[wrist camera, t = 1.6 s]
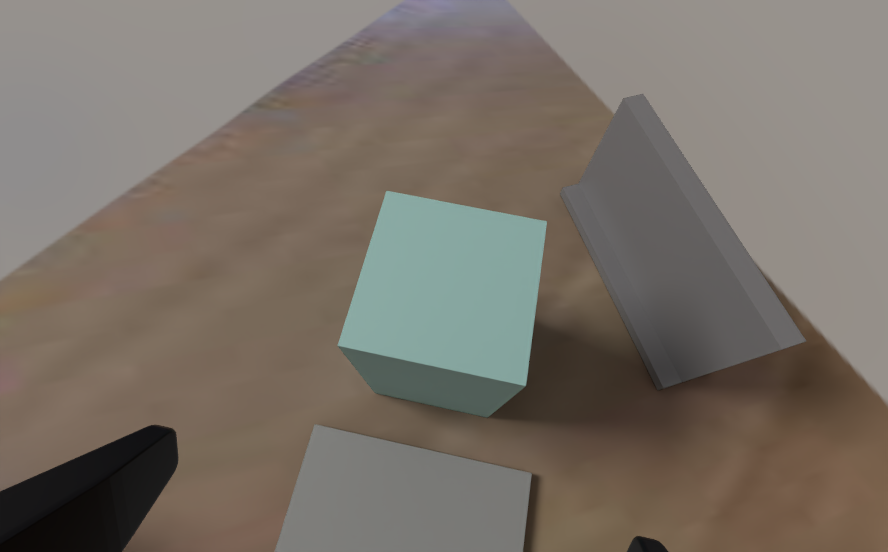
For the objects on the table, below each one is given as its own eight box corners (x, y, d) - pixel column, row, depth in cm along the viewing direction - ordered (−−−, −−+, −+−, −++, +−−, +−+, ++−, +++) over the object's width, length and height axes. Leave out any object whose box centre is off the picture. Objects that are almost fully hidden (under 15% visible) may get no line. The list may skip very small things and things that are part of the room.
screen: (710, 372, 21) (830, 333, 15) (657, 390, 21) (757, 357, 15) (605, 182, 26) (662, 89, 20) (559, 193, 25) (603, 102, 19)
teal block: (487, 417, 20) (526, 386, 12) (375, 393, 21) (337, 345, 12) (505, 306, 23) (547, 216, 14) (403, 286, 23) (388, 186, 15)
